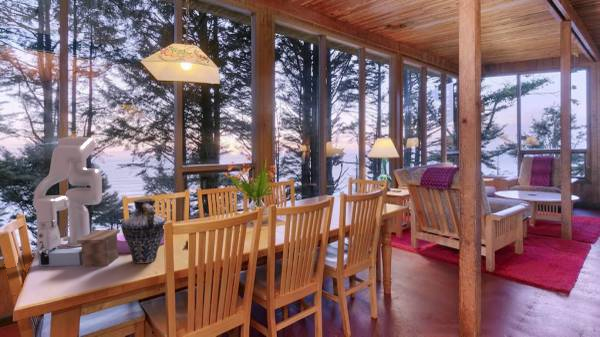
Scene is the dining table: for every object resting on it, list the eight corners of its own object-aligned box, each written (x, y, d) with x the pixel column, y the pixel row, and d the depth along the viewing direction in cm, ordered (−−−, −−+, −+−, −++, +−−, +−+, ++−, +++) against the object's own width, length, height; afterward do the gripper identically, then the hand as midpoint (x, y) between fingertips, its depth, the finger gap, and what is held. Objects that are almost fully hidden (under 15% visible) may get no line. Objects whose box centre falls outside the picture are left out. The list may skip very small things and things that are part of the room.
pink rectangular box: (119, 255, 171) (118, 229, 170) (114, 247, 183) (113, 223, 182) (170, 245, 186) (169, 222, 185) (162, 239, 198) (161, 217, 197)
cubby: (79, 269, 152) (77, 240, 151) (98, 256, 169) (96, 230, 168) (104, 268, 153) (102, 239, 152) (120, 255, 170) (119, 229, 169)
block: (38, 266, 155) (37, 253, 155) (47, 261, 161) (46, 249, 161) (79, 265, 157) (79, 252, 156) (86, 260, 163) (86, 248, 162)
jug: (116, 261, 162) (113, 199, 159) (155, 250, 177) (153, 194, 174) (135, 271, 149) (132, 205, 146) (176, 259, 164) (174, 199, 161)
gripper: (43, 229, 149) (46, 268, 150) (66, 220, 166) (68, 255, 167) (25, 229, 148) (28, 269, 150) (50, 220, 165) (52, 256, 167)
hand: (49, 261), depth 158 cm, fingers closed on block, 6 cm apart
